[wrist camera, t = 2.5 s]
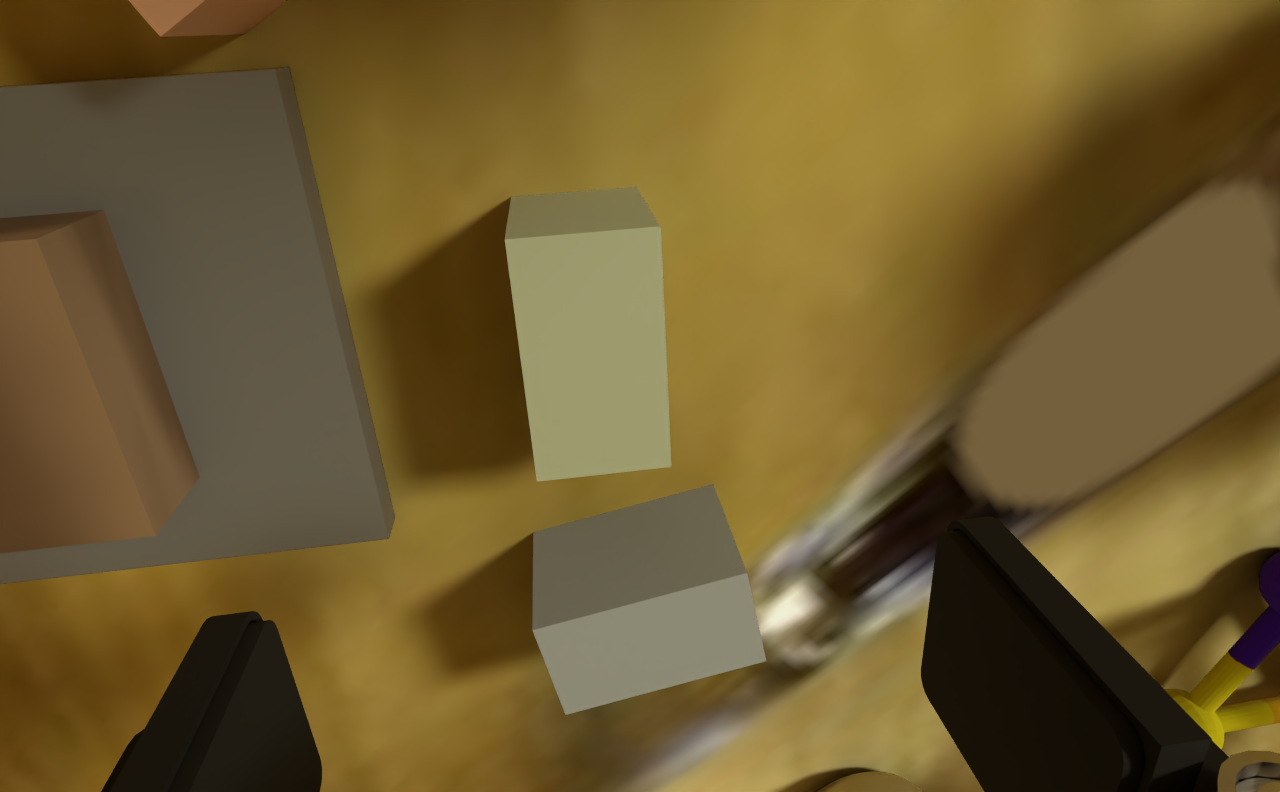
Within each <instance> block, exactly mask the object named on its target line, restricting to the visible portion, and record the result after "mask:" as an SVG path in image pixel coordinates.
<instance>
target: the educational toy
mask: <svg viewBox="0 0 1280 792" xmlns="http://www.w3.org/2000/svg"><path fill="white" fill-rule="evenodd" d="M1259 589H1260V592H1261V594H1262V597H1263V598H1264V599H1265V601H1266V602H1267V603H1268V605H1269V607H1268V608H1267V609H1266V610H1265V611H1264V612H1263V613H1262V614H1261V616H1260V617H1259V618H1258V619H1257V620H1256V621H1255V622H1254V623H1253V624H1252V625H1251V627H1250V628H1249V629H1248V630H1247V631H1246V632H1245V633H1244V634H1243V635H1242V637H1241V638H1240V639H1239V640H1238V641H1237V642H1236V643H1235V644H1234V645H1233V646H1232V648H1231V649H1230V650H1229V651H1228V652H1227V653H1226V654H1225V655H1224V656H1223V657H1222V659H1221V660H1220V661H1219V662H1218V663H1217V664H1216V665H1215V666H1214V667H1213V668H1212V670H1211V671H1210V672H1209V673H1208V674H1207V675H1206V676H1205V677H1204V678H1203V679H1202V681H1201V682H1200V683H1199V684H1198V685H1197V686H1196V687H1195V688H1194V689H1193V691H1192V692H1191V693H1188V692H1186V691H1183V690H1178V689H1165V691H1166V692H1167V693H1168V694H1169V695H1170V696H1171V697H1172V698H1173V699H1174V700H1175V701H1176V702H1177V703H1178V704H1179V705H1180V706H1181V707H1182V708H1183V709H1184V710H1185V711H1186V713H1187V714H1188V715H1189V716H1190V717H1191V718H1192V719H1193V720H1194V721H1195V722H1196V723H1197V724H1198V725H1199V726H1200V727H1201V728H1202V729H1203V730H1204V731H1205V732H1206V733H1207V734H1208V735H1209V736H1210V737H1211V738H1212V741H1213V742H1214V743H1215V744H1216V745H1217V746H1218V747H1219V748H1220V749H1221V750H1222V747H1223V743H1224V733H1226V732H1231V731H1237V730H1242V729H1248V728H1253V727H1259V726H1264V725H1270V724H1275V723H1280V696H1275V697H1270V698H1264V699H1259V700H1253V701H1248V702H1242V703H1236V704H1231V705H1225V706H1221V705H1222V703H1223V702H1224V701H1225V700H1226V699H1227V698H1228V697H1229V696H1230V695H1231V694H1232V693H1233V692H1234V691H1235V690H1236V688H1237V687H1238V686H1239V685H1240V684H1241V683H1242V682H1243V681H1244V680H1245V679H1246V678H1247V677H1248V676H1249V675H1250V673H1251V672H1252V671H1253V670H1254V669H1255V668H1256V667H1257V666H1258V665H1259V664H1260V663H1261V662H1262V661H1263V660H1264V659H1265V657H1266V656H1267V655H1268V654H1269V653H1270V652H1271V651H1272V650H1273V649H1274V648H1275V647H1276V646H1277V645H1278V644H1279V642H1280V552H1278V553H1276V554H1274V555H1273V556H1271V557H1270V558H1269V559H1268V560H1267V561H1266V562H1265V563H1264V565H1263V567H1262V569H1261V572H1260V574H1259Z"/></svg>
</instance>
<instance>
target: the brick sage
mask: <svg viewBox="0 0 1280 792" xmlns="http://www.w3.org/2000/svg"><path fill="white" fill-rule="evenodd" d="M505 246H506V254H507V261H508V269H509V276H510V284H511V291H512V299H513V306H514V314H515V321H516V329H517V336H518V344H519V351H520V359H521V366H522V374H523V381H524V388H525V396H526V403H527V411H528V418H529V426H530V433H531V441H532V448H533V456H534V463H535V471H536V478H537V482H538V481H547V480H556V479H565V478H574V477H583V476H592V475H601V474H610V473H619V472H628V471H637V470H646V469H655V468H665V467H671V449H670V426H669V404H668V381H667V358H666V336H665V313H664V290H663V268H662V245H661V226H660V224H659V223H658V221H657V220H656V218H655V216H654V215H653V213H652V211H651V210H650V208H649V206H648V205H647V203H646V202H645V200H644V198H643V197H642V195H641V193H640V192H639V190H638V189H637V187H627V188H615V189H602V190H590V191H577V192H565V193H552V194H540V195H528V196H515V197H511V201H510V207H509V214H508V220H507V227H506V234H505Z"/></svg>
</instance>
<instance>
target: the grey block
mask: <svg viewBox="0 0 1280 792" xmlns="http://www.w3.org/2000/svg"><path fill="white" fill-rule="evenodd" d="M532 631H533V633H534V636H535V638H536V641H537V643H538V646H539V648H540V651H541V653H542V656H543V659H544V661H545V664H546V666H547V669H548V671H549V674H550V676H551V679H552V681H553V684H554V686H555V689H556V691H557V694H558V696H559V699H560V702H561V704H562V707H563V709H564V712H565V714H566V715H567V714H570V713H574V712H578V711H581V710H585V709H589V708H593V707H596V706H600V705H604V704H608V703H611V702H615V701H619V700H623V699H626V698H630V697H634V696H637V695H641V694H645V693H649V692H652V691H656V690H660V689H664V688H667V687H671V686H675V685H679V684H682V683H686V682H690V681H693V680H697V679H701V678H705V677H708V676H712V675H716V674H720V673H723V672H727V671H731V670H735V669H738V668H742V667H746V666H749V665H753V664H757V663H761V662H764V661H766V658H765V653H764V648H763V644H762V639H761V635H760V630H759V626H758V621H757V616H756V612H755V607H754V603H753V598H752V594H751V589H750V584H749V580H748V575H747V572H746V569H745V566H744V564H743V561H742V559H741V556H740V553H739V551H738V548H737V546H736V543H735V540H734V538H733V535H732V532H731V530H730V527H729V525H728V522H727V519H726V517H725V514H724V512H723V509H722V506H721V504H720V501H719V499H718V496H717V493H716V491H715V488H714V485H713V484H712V485H708V486H705V487H701V488H697V489H693V490H690V491H686V492H682V493H679V494H675V495H671V496H667V497H664V498H660V499H656V500H652V501H649V502H645V503H641V504H637V505H634V506H630V507H626V508H623V509H619V510H615V511H611V512H608V513H604V514H600V515H596V516H593V517H589V518H585V519H581V520H578V521H574V522H570V523H566V524H563V525H559V526H555V527H552V528H548V529H544V530H540V531H537V532H533V616H532Z"/></svg>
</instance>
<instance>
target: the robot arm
mask: <svg viewBox="0 0 1280 792" xmlns="http://www.w3.org/2000/svg"><path fill="white" fill-rule="evenodd" d="M921 679H922V684H923V688H924V691H925V693H926V695H927V697H928V699H929V701H930V702H931V704H932V706H933V707H934V709H935V711H936V712H937V714H938V716H939V717H940V719H941V721H942V722H943V724H944V726H945V727H946V729H947V731H948V732H949V734H950V735H951V737H952V739H953V740H954V742H955V744H956V745H957V747H958V749H959V750H960V752H961V754H962V755H963V757H964V759H965V760H966V762H967V764H968V765H969V767H970V769H971V770H972V772H973V773H974V775H975V777H976V778H977V780H978V782H979V783H980V785H981V787H982V788H983V790H984V792H1280V754H1278V753H1274V752H1270V751H1245V752H1241V753H1237V754H1234V755H1231V756H1230V757H1228V756H1227V755H1226V754H1225V753H1224V752H1223V751H1222V750H1221V749H1220V748H1219V747H1218V746H1217V745H1216V744H1215V743H1214V742H1213V741H1212V738H1211V737H1210V736H1209V735H1208V734H1207V733H1206V732H1205V731H1204V730H1203V729H1202V728H1201V727H1200V726H1199V725H1198V724H1197V723H1196V722H1195V721H1194V720H1193V719H1192V718H1191V717H1190V716H1189V715H1188V714H1187V713H1186V711H1185V710H1184V709H1183V708H1182V707H1181V706H1180V705H1179V704H1178V703H1177V702H1176V701H1175V700H1174V699H1173V698H1172V697H1171V696H1170V695H1169V694H1168V693H1167V692H1166V691H1165V690H1164V689H1163V688H1162V687H1161V686H1160V685H1159V684H1158V683H1157V682H1156V681H1155V680H1154V679H1153V678H1152V677H1151V676H1150V675H1149V674H1148V673H1147V672H1146V671H1145V669H1144V668H1143V667H1142V666H1141V665H1140V664H1139V663H1138V662H1137V661H1136V660H1135V659H1134V658H1133V657H1132V656H1131V655H1130V654H1129V653H1128V652H1127V651H1126V650H1125V649H1124V648H1123V647H1122V646H1121V645H1120V644H1119V643H1118V642H1117V641H1116V640H1115V639H1114V638H1113V637H1112V636H1111V635H1110V634H1109V633H1108V632H1107V631H1106V630H1105V629H1104V628H1103V626H1102V625H1101V624H1100V623H1099V622H1098V621H1097V620H1096V619H1095V618H1094V617H1093V616H1092V615H1091V614H1090V613H1089V612H1088V611H1087V610H1086V609H1085V608H1084V607H1083V606H1082V605H1081V604H1080V603H1079V602H1078V601H1077V600H1076V599H1075V598H1074V597H1073V596H1072V595H1071V594H1070V593H1069V592H1068V591H1067V590H1066V589H1065V588H1064V587H1063V586H1062V584H1061V583H1060V582H1059V581H1058V580H1057V579H1056V578H1055V577H1054V576H1053V575H1052V574H1051V573H1050V572H1049V571H1048V570H1047V569H1046V568H1045V567H1044V566H1043V565H1042V564H1041V563H1040V562H1039V561H1038V560H1037V559H1036V558H1035V557H1034V556H1033V555H1032V554H1031V553H1030V552H1029V551H1028V550H1027V549H1026V548H1025V547H1024V546H1023V545H1022V544H1021V543H1020V541H1019V540H1018V539H1017V538H1016V537H1015V536H1014V535H1013V534H1012V533H1011V532H1010V531H1009V530H1008V529H1007V528H1006V527H1005V526H1004V525H1003V524H1002V523H1001V522H1000V521H999V520H997V519H996V518H995V517H991V516H988V517H980V518H973V519H965V520H957V521H953V522H951V524H950V525H949V527H948V530H947V532H943V533H941V534H940V535H939V537H938V540H937V547H936V555H935V563H934V571H933V579H932V586H931V594H930V602H929V610H928V618H927V626H926V634H925V642H924V650H923V658H922V666H921ZM321 780H322V766H321V760H320V756H319V753H318V750H317V747H316V744H315V741H314V738H313V735H312V732H311V729H310V726H309V723H308V720H307V717H306V714H305V711H304V708H303V705H302V702H301V699H300V696H299V693H298V690H297V687H296V683H295V680H294V677H293V674H292V671H291V668H290V665H289V662H288V659H287V656H286V653H285V650H284V647H283V644H282V641H281V638H280V635H279V632H278V629H277V627H276V625H275V623H274V622H273V621H271V620H267V621H263V620H262V618H261V616H260V615H259V614H258V613H257V612H254V611H251V612H243V613H235V614H228V615H220V616H212V617H210V618H208V619H207V620H206V621H205V622H204V623H203V625H202V627H201V628H200V630H199V632H198V634H197V636H196V637H195V639H194V641H193V643H192V645H191V646H190V648H189V650H188V652H187V654H186V655H185V657H184V659H183V661H182V663H181V664H180V666H179V668H178V670H177V672H176V673H175V675H174V677H173V679H172V681H171V682H170V684H169V686H168V688H167V690H166V691H165V693H164V695H163V697H162V699H161V700H160V702H159V704H158V706H157V708H156V709H155V711H154V713H153V715H152V717H151V718H150V720H149V722H148V724H147V726H146V727H145V729H144V730H142V731H141V732H139V733H138V734H136V735H135V736H134V737H133V739H132V740H131V742H130V743H129V744H128V746H127V747H126V749H125V751H124V752H123V754H122V756H121V758H120V759H119V761H118V763H117V765H116V766H115V768H114V770H113V772H112V773H111V775H110V777H109V779H108V780H107V782H106V784H105V786H104V788H103V789H102V791H101V792H320V787H321Z"/></svg>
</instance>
